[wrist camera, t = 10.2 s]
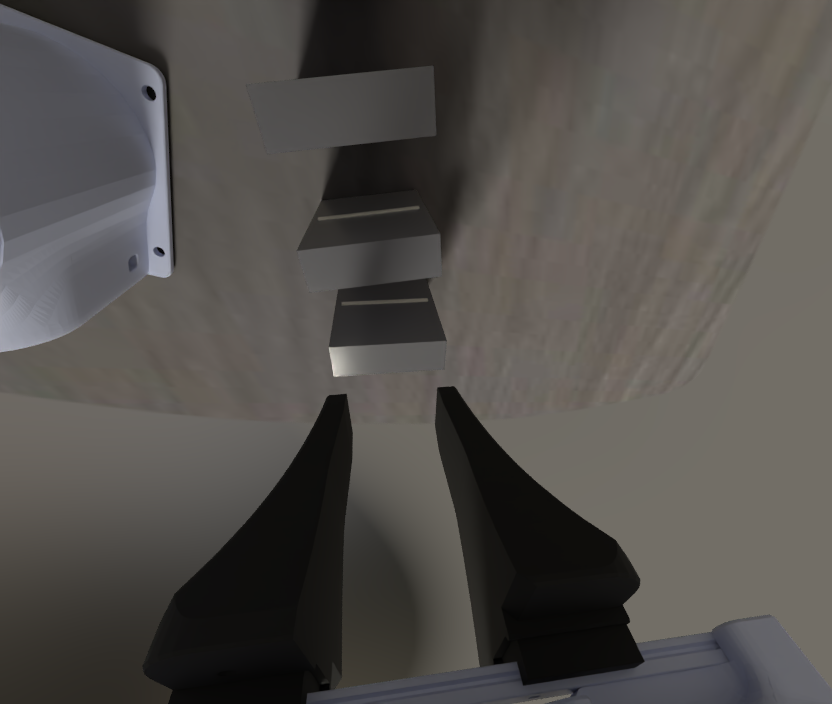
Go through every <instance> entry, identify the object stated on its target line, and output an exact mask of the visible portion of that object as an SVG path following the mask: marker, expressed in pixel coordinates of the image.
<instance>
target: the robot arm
mask: <svg viewBox="0 0 832 704" xmlns="http://www.w3.org/2000/svg"><path fill="white" fill-rule="evenodd" d="M148 86H150V87H152V88H153V90H154V91H155V93H156V99H155V100H152V99H150V97H149V96H148V95H147V91H146V89H147V87H148ZM157 247H160V248H162V249H163V250H164V252H165V254H162V253H160V252H159V251H158V250H157ZM173 271H174V263H173V239H172V214H171V190H170V165H169V141H168V116H167V91H166V81H165V78H164V76H163V74H162V72H161V71H160V70H159V69H158V68H157V67H155V66H154V65H152V64H150V63H148V62H145V61H143V60H140V59H138V58H135V57H133V56H130V55H128V54H125V53H123V52H120V51H118V50H115V49H113V48H110V47H108V46H105V45H103V44H100V43H98V42H95V41H93V40H90V39H88V38H85V37H82V36H80V35H77V34H75V33H72V32H70V31H67V30H65V29H62V28H60V27H57V26H55V25H52V24H50V23H47V22H45V21H42V20H40V19H37V18H35V17H32V16H30V15H27V14H25V13H22V12H20V11H17V10H15V9H12V8H10V7H7V6H5V5H2V4H0V352H5V351H12V350H17V349H21V348H26V347H30V346H34V345H38V344H41V343H44V342H48V341H51V340H53V339H56V338H59V337H61V336H64V335H66V334H68V333H70V332H72V331H74V330H75V329H77V328H78V327H80V326H81V325H83V324H84V323H85V322H87V321H88V320H89V319H90V318H92V317H93V316H94V315H96V314H97V313H98V312H99V311H101V310H102V309H103V308H105V307H106V306H107V305H109V304H110V303H111V302H112V301H114V300H115V299H116V298H118V297H119V296H120V295H122V294H123V293H124V292H125V291H127V290H128V289H129V288H131V287H132V286H133V285H134V284H136V283H137V282H138V281H140V280H141V279H142V278H144V277H145V276H146V275H147V274H150V275H154V276H158V277H163V278H166V277H169V276H170V275H171V274H172V273H173ZM435 428H436V434H437V441H438V447H439V452H440V456H441V460H442V464H443V467H444V471H445V475H446V478H447V482H448V486H449V489H450V493H451V497H452V501H453V504H454V508H455V512H456V517H457V521H458V527H459V533H460V539H461V544H462V550H463V556H464V562H465V569H466V575H467V581H468V588H469V594H470V600H471V607H472V614H473V621H474V627H475V635H476V642H477V649H478V657H479V664H480V667H478V668H472V669H465V670H458V671H451V672H445V673H439V674H432V675H426V676H419V677H412V678H406V679H400V680H392V681H386V682H379V683H373V684H367V685H360V686H353V687H347V688H341V689H335V688H336V686H337V685H338V683H339V681H340V680H341V678H342V586H343V584H342V583H343V546H344V525H345V515H346V506H347V498H348V490H349V481H350V473H351V464H352V439H353V437H352V436H353V432H352V426H351V419H350V413H349V406H348V400H347V394H340V395H329V396H328V397H327V398H326V401H325V403H324V405H323V408H322V410H321V412H320V414H319V416H318V418H317V420H316V422H315V424H314V426H313V428H312V430H311V431H310V433H309V435H308V437H307V439H306V440H305V442H304V444H303V446H302V447H301V449H300V450H299V452H298V454H297V455H296V457H295V458H294V460H293V462H292V463H291V465H290V466H289V468H288V469H287V470H286V472H285V473H284V475H283V476H282V478H281V479H280V481H279V482H278V483H277V485H276V486H275V487H274V489H273V490H272V491H271V492H270V494H269V495H268V496H267V498H266V499H265V500H264V501H263V503H262V504H261V505H260V506H259V508H258V509H257V510H256V511H255V512H254V513H253V515H252V516H251V517H250V518H249V519H248V520H247V521H246V523H245V524H244V525H243V526H242V527H241V528H240V529H239V530H238V531H237V532H236V534H235V535H234V536H233V537H232V538H231V539H230V540H229V541H228V542H227V543H226V544H225V545H224V546H223V547H222V548H221V550H220V551H219V552H218V553H217V554H216V555H215V556H214V557H213V558H212V559H211V560H210V561H209V562H207V563H206V564H205V565H204V566H203V567H202V568H201V569H200V570H199V571H198V572H197V573H196V574H195V575H194V576H193V577H192V578H191V579H190V580H189V581H188V582H187V583H186V584H184V586H182V587H181V588H180V589H179V590H178V591H177V592H176V593H175V594H174V596H173V598H172V600H171V603H170V604H169V606H168V609H167V610H166V612H165V614H164V616H163V618H162V620H161V622H160V624H159V626H158V629H157V631H156V634H155V637H154V639H153V641H152V644H151V646H150V649H149V651H148V654H147V656H146V659H145V661H144V664H143V672H144V674H145V675H146V676H147V677H149V678H150V679H152V680H154V681H156V682H158V683H160V684H162V685H164V686H166V687H168V688H170V689H172V690H173V691H172V694H171V697H170V700H169V703H168V704H512V703H518V702H525V701H531V700H537V699H543V698H549V697H555V696H561V695H567V694H571V696H570V697H569V698H565V699H561V700H557V701H554V702H549V703H546V704H832V688H831V687H830V686H829V685H828V683H827V682H826V681H825V680H824V678H823V677H822V676H821V675H820V673H819V672H818V671H817V670H816V668H815V667H814V666H813V664H812V663H811V662H810V661H809V660H808V658H807V657H806V656H805V654H804V653H803V652H802V651H801V649H800V648H799V647H798V646H797V644H796V643H795V642H794V640H793V639H792V638H791V637H790V635H789V634H788V633H787V632H786V630H785V629H784V628H783V627H782V625H781V624H780V623H779V621H778V620H777V619H776V618H775V617H774V616H772V615H763V616H757V617H750V618H743V619H737V620H732V621H728V622H725V623H723V624H721V625H719V626H717V627H715V628H714V629H713V630H712V632H707V633H701V634H694V635H688V636H681V637H675V638H668V639H661V640H655V641H648V642H642V643H635V641H634V639H633V636H632V635H631V632H630V630H629V629H628V626H627V624H628V623H630V619H629V617H628V615H627V613H626V611H625V609H624V607H623V604H624V603H625V602H626V601H627V600H628V599H629V598H630V597H631V596H632V595H633V594H634V593H635V592H636V591H637V590H638V588H639V586H640V578H639V577H638V575H637V573H636V571H635V569H634V568H633V566H632V564H631V562H630V561H629V559H628V558H627V556H626V554H625V553H624V552H623V550H622V549H621V547H620V546H619V544H618V543H617V541H616V540H615V539H613V538H612V537H610V536H609V535H607V534H606V533H604V532H603V531H601V530H599V529H598V528H597V527H595V526H594V525H592V524H591V523H589V522H587V521H586V520H584V519H583V518H582V517H580V516H579V515H578V514H576V513H575V512H573V511H572V510H571V509H569V508H568V507H567V506H565V505H564V504H563V503H562V502H560V501H559V500H558V499H557V498H555V497H554V496H553V495H552V494H551V493H549V492H548V491H547V490H545V489H544V488H543V487H542V486H541V485H539V484H538V483H537V482H536V481H535V480H534V479H533V478H532V477H531V476H529V475H528V474H527V473H526V472H525V471H524V470H523V469H522V468H521V467H520V466H518V465H517V463H515V461H513V459H512V458H511V457H510V456H509V455H508V454H507V453H506V452H505V451H504V450H503V449H502V448H501V447H500V446H499V444H497V442H496V441H495V440H494V439H493V438H492V436H491V435H490V434H489V433H488V432H487V430H486V429H485V428H484V427H483V425H482V424H481V423H480V422H479V420H478V419H477V418H476V417H475V415H474V414H473V413H472V411H471V410H470V408H469V407H468V406H467V404H466V403H465V401H464V400H463V398H462V397H461V395H460V394H459V392H458V390H457V389H456V388H455V387H454V386H452V387H438V388H437V403H436V419H435Z"/></svg>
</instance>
